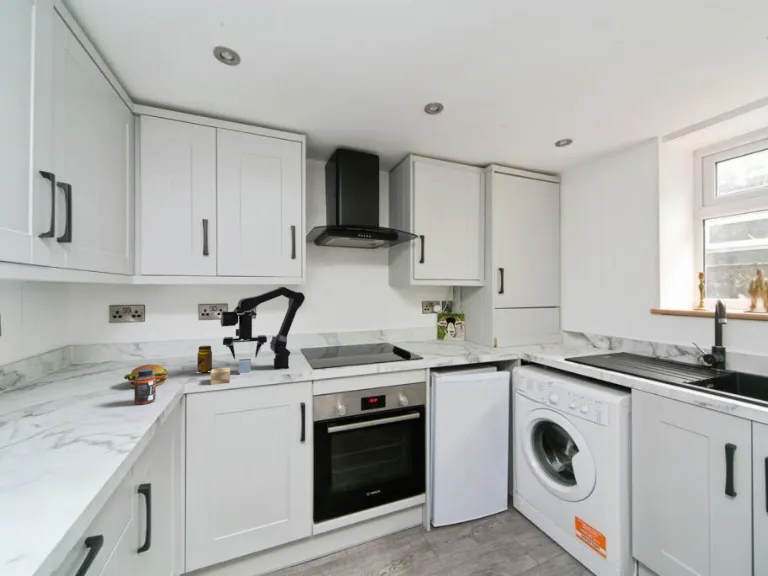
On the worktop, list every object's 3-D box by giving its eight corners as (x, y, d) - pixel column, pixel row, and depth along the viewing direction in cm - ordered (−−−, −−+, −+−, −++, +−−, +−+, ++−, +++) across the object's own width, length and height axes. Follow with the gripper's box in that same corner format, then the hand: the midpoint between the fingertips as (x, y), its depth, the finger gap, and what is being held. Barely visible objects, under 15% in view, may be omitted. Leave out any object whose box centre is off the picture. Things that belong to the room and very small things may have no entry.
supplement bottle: (157, 402, 112) (157, 370, 112) (135, 406, 108) (135, 373, 107) (153, 397, 116) (154, 366, 116) (133, 401, 112) (133, 369, 112)
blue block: (250, 371, 154) (250, 358, 153) (250, 373, 149) (250, 361, 149) (239, 372, 152) (239, 359, 151) (238, 374, 147) (239, 361, 147)
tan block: (229, 378, 141) (229, 367, 141) (229, 383, 135) (229, 371, 135) (211, 380, 138) (211, 369, 138) (210, 385, 132) (210, 373, 132)
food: (155, 377, 141) (156, 359, 141) (174, 382, 135) (174, 363, 135) (118, 386, 129) (118, 366, 129) (136, 391, 122) (137, 371, 122)
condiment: (193, 373, 148) (193, 347, 148) (203, 368, 157) (203, 344, 157) (208, 373, 148) (209, 347, 148) (218, 368, 157) (218, 344, 157)
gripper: (265, 322, 161) (265, 353, 161) (224, 323, 154) (224, 356, 154) (267, 325, 151) (266, 358, 151) (222, 326, 144) (222, 361, 144)
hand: (245, 358), depth 150 cm, fingers open, 9 cm apart
